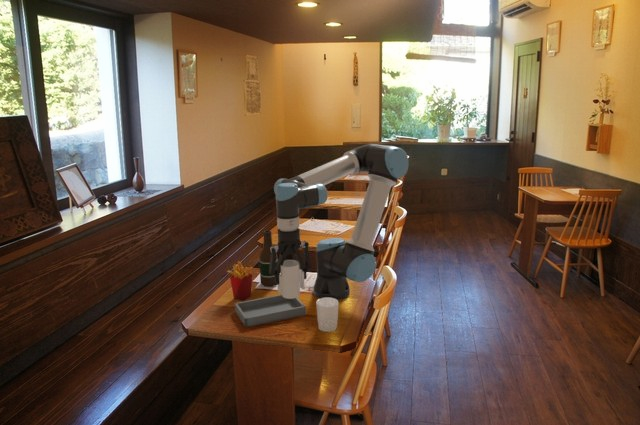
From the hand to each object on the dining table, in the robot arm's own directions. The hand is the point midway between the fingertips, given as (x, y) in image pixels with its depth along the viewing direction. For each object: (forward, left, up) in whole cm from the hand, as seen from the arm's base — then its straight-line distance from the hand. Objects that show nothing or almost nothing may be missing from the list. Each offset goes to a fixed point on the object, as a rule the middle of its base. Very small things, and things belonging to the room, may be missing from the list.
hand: (291, 289), depth 185 cm
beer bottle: (-5, -42, -15) cm, 45 cm away
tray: (+4, -14, -14) cm, 20 cm away
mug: (-1, 0, -2) cm, 2 cm away
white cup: (-11, +6, -15) cm, 19 cm away
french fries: (+11, -33, -15) cm, 38 cm away
